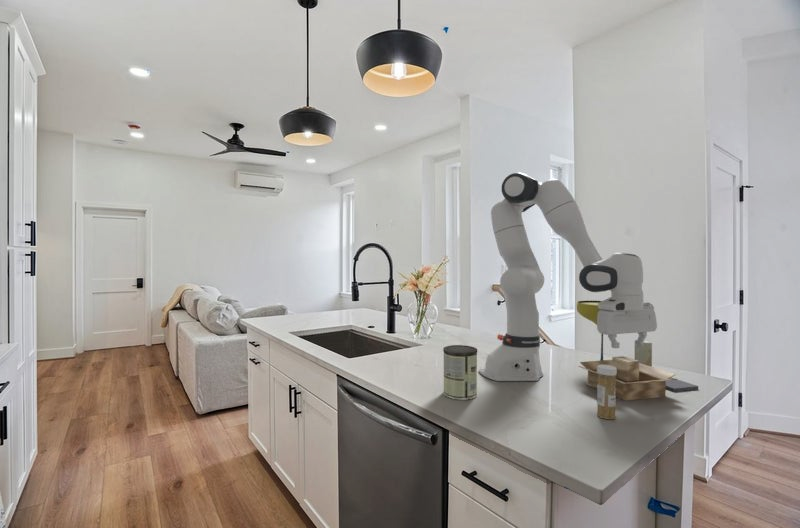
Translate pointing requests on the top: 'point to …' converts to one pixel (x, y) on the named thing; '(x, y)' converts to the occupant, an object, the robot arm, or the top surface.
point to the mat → (679, 385)
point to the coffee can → (460, 372)
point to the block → (626, 369)
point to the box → (644, 353)
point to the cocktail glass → (590, 314)
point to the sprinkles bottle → (606, 391)
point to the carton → (647, 387)
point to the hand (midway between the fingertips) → (627, 346)
